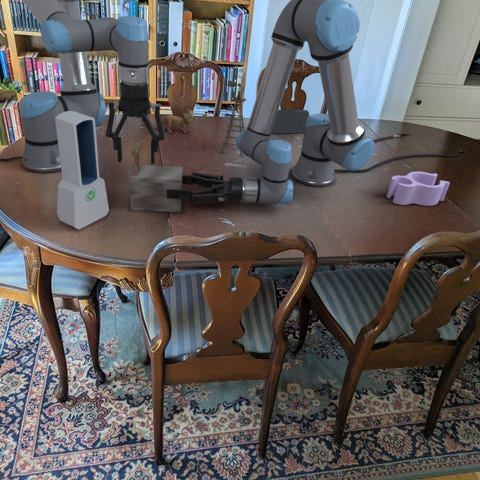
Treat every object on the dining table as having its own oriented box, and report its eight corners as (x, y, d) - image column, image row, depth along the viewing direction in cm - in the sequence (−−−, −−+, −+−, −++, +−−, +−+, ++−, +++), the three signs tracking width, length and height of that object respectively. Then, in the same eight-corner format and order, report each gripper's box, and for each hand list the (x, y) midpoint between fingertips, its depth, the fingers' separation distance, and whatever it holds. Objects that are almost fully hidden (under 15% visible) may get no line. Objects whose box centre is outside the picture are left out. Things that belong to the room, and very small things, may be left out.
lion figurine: (191, 128, 201) (192, 107, 196) (194, 132, 197) (195, 111, 192) (157, 129, 196) (157, 108, 192) (160, 134, 192) (160, 112, 187)
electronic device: (76, 231, 126) (63, 124, 110) (57, 222, 129) (42, 116, 113) (110, 214, 135) (103, 112, 119) (91, 206, 138) (82, 105, 122)
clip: (400, 208, 156) (406, 189, 152) (379, 191, 165) (384, 173, 162) (448, 203, 162) (455, 186, 158) (425, 187, 172) (431, 170, 168)
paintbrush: (406, 132, 223) (406, 130, 222) (411, 134, 221) (412, 132, 220) (362, 144, 207) (363, 141, 206) (368, 146, 205) (368, 143, 204)
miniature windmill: (241, 156, 181) (249, 76, 164) (220, 152, 182) (226, 73, 165) (246, 147, 188) (254, 71, 172) (225, 144, 189) (231, 68, 173)
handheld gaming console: (303, 130, 212) (307, 109, 207) (306, 132, 210) (310, 111, 205) (256, 132, 205) (259, 109, 200) (259, 134, 203) (261, 111, 197)
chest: (130, 210, 139) (129, 181, 134) (134, 195, 146) (133, 167, 141) (181, 212, 140) (181, 183, 135) (182, 198, 148) (182, 170, 143)
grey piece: (126, 180, 134) (125, 151, 129) (130, 167, 141) (129, 139, 136) (181, 183, 135) (182, 154, 130) (182, 170, 143) (183, 142, 138)
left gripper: (89, 82, 119) (96, 164, 131) (174, 88, 121) (173, 168, 133) (95, 75, 125) (100, 153, 137) (175, 81, 127) (174, 158, 140)
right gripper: (243, 218, 136) (165, 215, 133) (238, 184, 154) (169, 181, 151) (246, 195, 132) (165, 191, 129) (240, 163, 150) (170, 159, 147)
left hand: (136, 161), depth 135 cm, fingers open, 9 cm apart
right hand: (167, 186), depth 140 cm, fingers closed on chest, 9 cm apart
